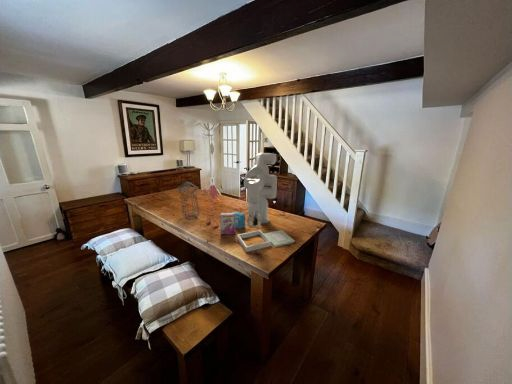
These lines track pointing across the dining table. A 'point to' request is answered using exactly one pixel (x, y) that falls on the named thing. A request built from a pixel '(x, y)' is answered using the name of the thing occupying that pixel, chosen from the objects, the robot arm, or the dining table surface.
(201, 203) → the dining table surface
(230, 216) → the candy bar box
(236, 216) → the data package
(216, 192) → the figurine
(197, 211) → the geometric lantern
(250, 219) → the beech box
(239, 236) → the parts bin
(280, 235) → the sage board
